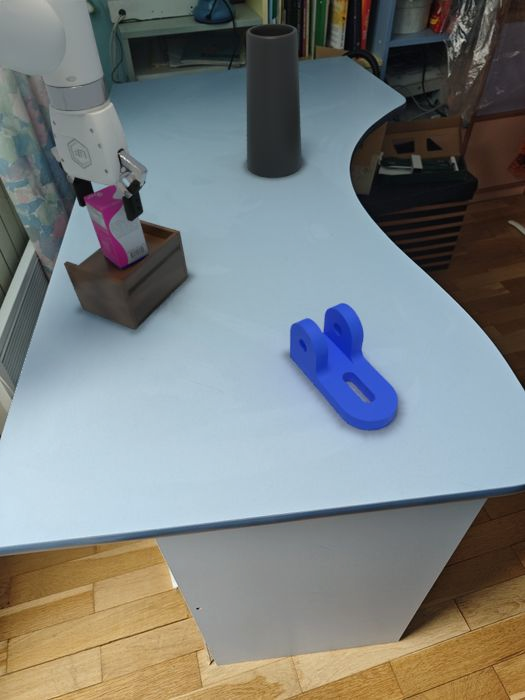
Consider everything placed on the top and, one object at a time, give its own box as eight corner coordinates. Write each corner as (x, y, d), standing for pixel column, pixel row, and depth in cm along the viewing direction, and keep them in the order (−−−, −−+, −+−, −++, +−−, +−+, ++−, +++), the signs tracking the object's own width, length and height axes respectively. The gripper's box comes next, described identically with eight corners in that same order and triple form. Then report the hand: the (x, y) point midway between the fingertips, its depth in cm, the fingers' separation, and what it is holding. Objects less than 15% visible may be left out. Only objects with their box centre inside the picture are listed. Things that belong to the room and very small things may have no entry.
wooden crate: (82, 309, 86) (63, 263, 79) (138, 260, 96) (126, 215, 88) (135, 330, 82) (120, 283, 75) (188, 276, 92) (180, 231, 84)
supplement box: (131, 242, 86) (114, 182, 78) (150, 256, 83) (134, 194, 74) (102, 256, 83) (82, 195, 75) (121, 271, 80) (101, 209, 72)
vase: (262, 148, 128) (258, 18, 107) (310, 158, 123) (315, 24, 102) (237, 171, 120) (226, 35, 99) (286, 182, 115) (286, 42, 94)
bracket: (290, 356, 77) (290, 314, 70) (333, 336, 79) (337, 294, 73) (360, 439, 66) (368, 399, 59) (407, 413, 68) (420, 372, 62)
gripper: (10, 93, 65) (53, 208, 77) (110, 113, 59) (140, 235, 71) (51, 76, 69) (86, 187, 82) (148, 92, 63) (170, 210, 76)
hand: (111, 209), depth 76 cm, fingers open, 9 cm apart
